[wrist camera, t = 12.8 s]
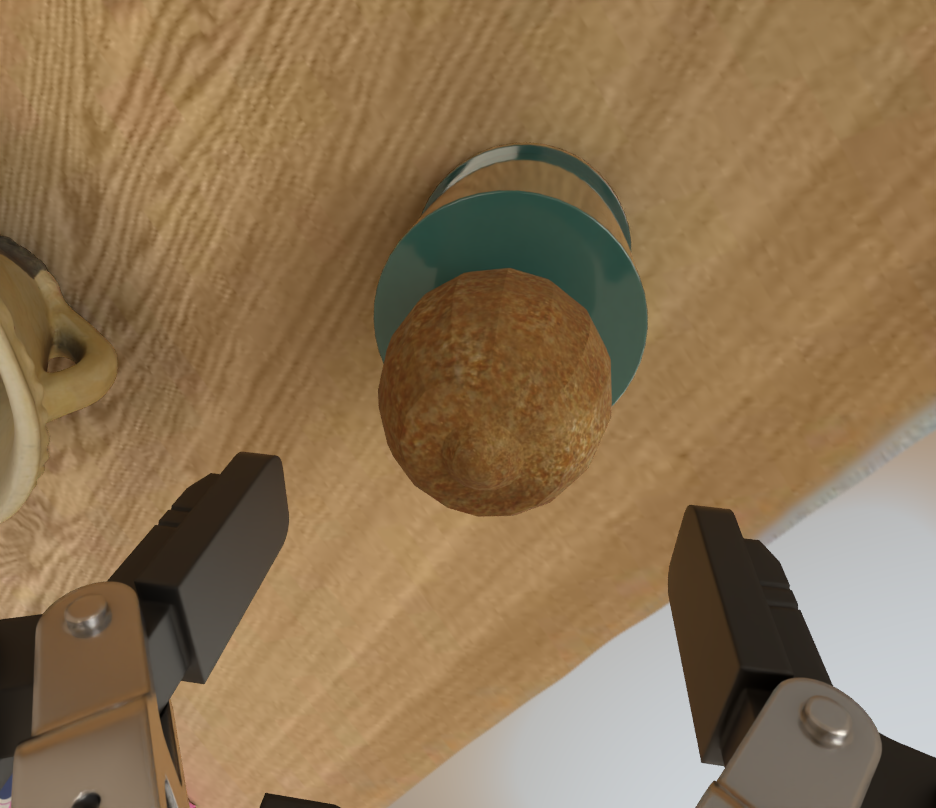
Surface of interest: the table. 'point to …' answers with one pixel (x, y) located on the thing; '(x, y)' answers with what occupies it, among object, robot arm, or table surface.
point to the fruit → (495, 392)
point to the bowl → (40, 369)
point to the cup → (525, 244)
